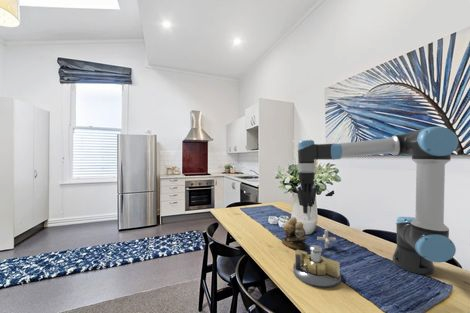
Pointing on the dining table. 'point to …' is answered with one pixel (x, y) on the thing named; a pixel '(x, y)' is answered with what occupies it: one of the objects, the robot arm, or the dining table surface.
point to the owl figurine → (294, 234)
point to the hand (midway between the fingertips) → (307, 219)
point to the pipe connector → (326, 239)
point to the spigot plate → (311, 278)
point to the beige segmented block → (319, 265)
